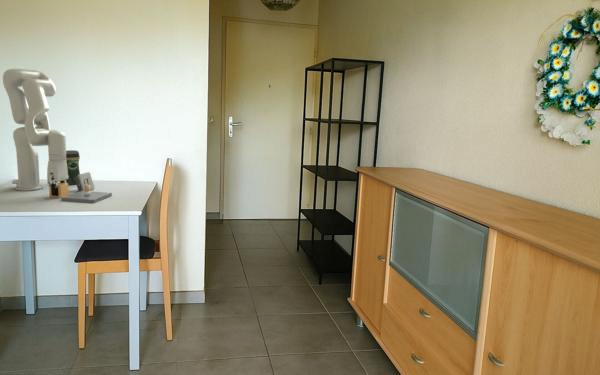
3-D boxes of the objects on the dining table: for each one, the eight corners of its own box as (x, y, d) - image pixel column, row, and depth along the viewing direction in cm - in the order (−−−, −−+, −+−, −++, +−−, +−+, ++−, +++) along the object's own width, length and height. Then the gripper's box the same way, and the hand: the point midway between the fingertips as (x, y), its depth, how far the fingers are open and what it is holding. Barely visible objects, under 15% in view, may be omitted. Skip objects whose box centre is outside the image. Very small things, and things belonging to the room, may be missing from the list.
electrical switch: (84, 192, 239) (81, 174, 237) (75, 192, 240) (72, 174, 238) (94, 189, 248) (92, 172, 247) (86, 189, 249) (84, 172, 247)
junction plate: (61, 200, 219) (60, 187, 218) (81, 193, 236) (81, 181, 234) (93, 203, 218) (93, 189, 216) (111, 195, 234) (111, 183, 233)
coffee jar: (76, 181, 265) (75, 149, 262) (83, 184, 260) (81, 150, 256) (59, 183, 258) (57, 150, 254) (64, 185, 253) (63, 151, 249)
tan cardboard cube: (49, 196, 225) (48, 184, 224) (57, 194, 231) (56, 182, 229) (61, 197, 224) (60, 185, 223) (68, 195, 230) (68, 183, 229)
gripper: (60, 154, 233) (62, 190, 236) (38, 159, 216) (40, 197, 219) (75, 155, 232) (76, 191, 235) (53, 160, 215) (55, 198, 218)
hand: (59, 193), depth 227 cm, fingers closed on tan cardboard cube, 5 cm apart
